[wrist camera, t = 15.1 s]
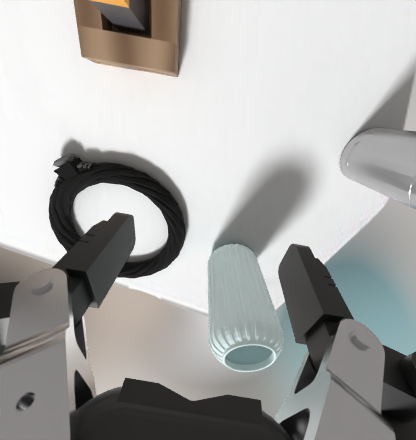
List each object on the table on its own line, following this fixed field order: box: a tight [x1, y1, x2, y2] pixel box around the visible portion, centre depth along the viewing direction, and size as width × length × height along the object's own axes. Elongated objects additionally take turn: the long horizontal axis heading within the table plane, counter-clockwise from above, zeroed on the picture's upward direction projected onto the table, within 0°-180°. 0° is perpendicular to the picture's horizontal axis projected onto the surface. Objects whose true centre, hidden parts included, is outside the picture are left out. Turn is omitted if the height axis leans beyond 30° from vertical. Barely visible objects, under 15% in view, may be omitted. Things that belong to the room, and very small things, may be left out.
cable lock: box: [49, 154, 185, 278], centre depth 40 cm, size 28×4×30 cm
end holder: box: [74, 0, 182, 77], centre depth 24 cm, size 12×12×4 cm
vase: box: [208, 243, 284, 372], centre depth 37 cm, size 12×12×22 cm
